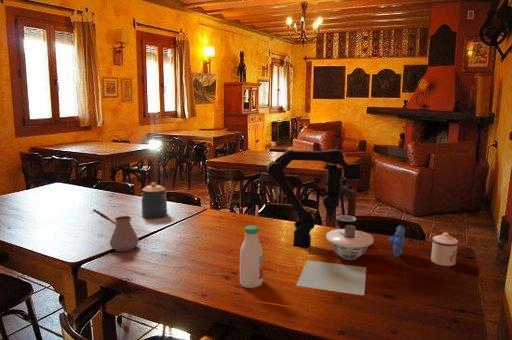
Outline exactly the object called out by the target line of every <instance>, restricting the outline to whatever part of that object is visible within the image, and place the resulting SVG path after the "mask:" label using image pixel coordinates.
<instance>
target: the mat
mask: <svg viewBox="0 0 512 340" xmlns="http://www.w3.org/2000/svg"><path fill="white" fill-rule="evenodd" d="M366 276H367V267H364V266H358V265H357V266H356V265H350V264H343V263H342V264H341V263H332V262H325V261H324V262H323V261H318V260H317V261H316V260H309V259H307V260H306V261H305V265H304V266H303V269H302V271H301V273H300V276H299V278H298V280H297V282H296V284H295V287H303V288H308V289H309V288H310V289H314V290H315V289H316V290H324V291H328V292H329V291H330V292H336V293H345V294H351V295H358V296H365V290H366Z"/></svg>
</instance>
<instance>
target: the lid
mask: <svg viewBox="0 0 512 340" xmlns="http://www.w3.org/2000/svg"><path fill="white" fill-rule="evenodd" d="M325 238H326V240H327V241H328V242H329V243H330V244H331V243H333V244H335V245H339V246H343V247H352V248H359V247H366V246H368V247H369V246H371V245H373V244H374V236H372V235H371V234H370V233H367V232H365V231H362V230H358V229H356V225H355V226H352V225H346V226H345V229H337V228H336V229H332V230H330V231H328V232H327V233H326V237H325Z"/></svg>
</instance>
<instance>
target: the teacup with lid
mask: <svg viewBox="0 0 512 340" xmlns="http://www.w3.org/2000/svg"><path fill="white" fill-rule="evenodd" d="M431 241H432V245H431V246H432V247H431V254H430V255H431V256H430V261H431V262H432V263H434V264H436V265H438V266H443V267H444V266H445V267H452V266H454V265H456V263H457V262H456V261H457V251H458V245H459V241H458V239H456V238H455V237H452V236H451V235H449V232H443V233H442V234H439V235H434V236H433V237H432V240H431Z"/></svg>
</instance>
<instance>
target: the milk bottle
mask: <svg viewBox="0 0 512 340" xmlns="http://www.w3.org/2000/svg"><path fill="white" fill-rule="evenodd" d="M259 232H260V231H259V227H258V226H257V225H247V226H245V227H244V240H243V242H242V244H241V247H240V251H239V285H241V287H243V288H245V289H254V288H258V287H260V286H261V285H263V281H264V279H263V274H264V273H263V267H264V265H263V264H264V263H263V262H264V251H263V247H262V245H261V241H260V240H259Z"/></svg>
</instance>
